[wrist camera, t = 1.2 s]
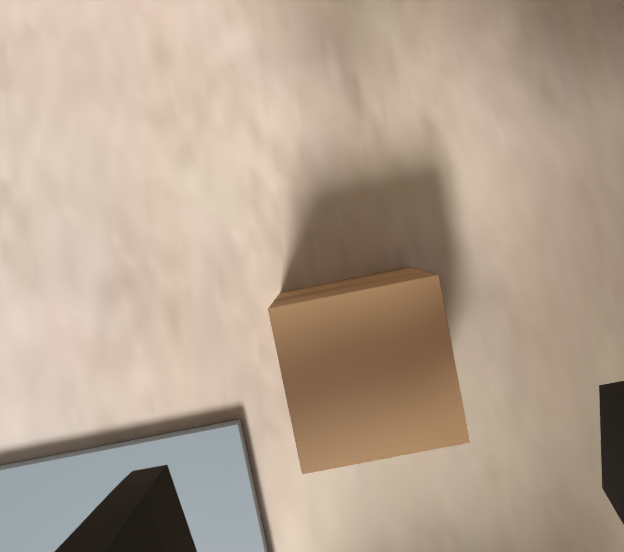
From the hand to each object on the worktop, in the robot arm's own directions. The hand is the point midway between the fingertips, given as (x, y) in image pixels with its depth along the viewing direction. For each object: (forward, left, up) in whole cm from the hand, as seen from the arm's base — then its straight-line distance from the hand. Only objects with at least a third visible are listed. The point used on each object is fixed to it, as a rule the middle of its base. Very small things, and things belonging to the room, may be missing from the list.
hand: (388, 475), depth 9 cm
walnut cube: (0, 0, -12) cm, 12 cm away
